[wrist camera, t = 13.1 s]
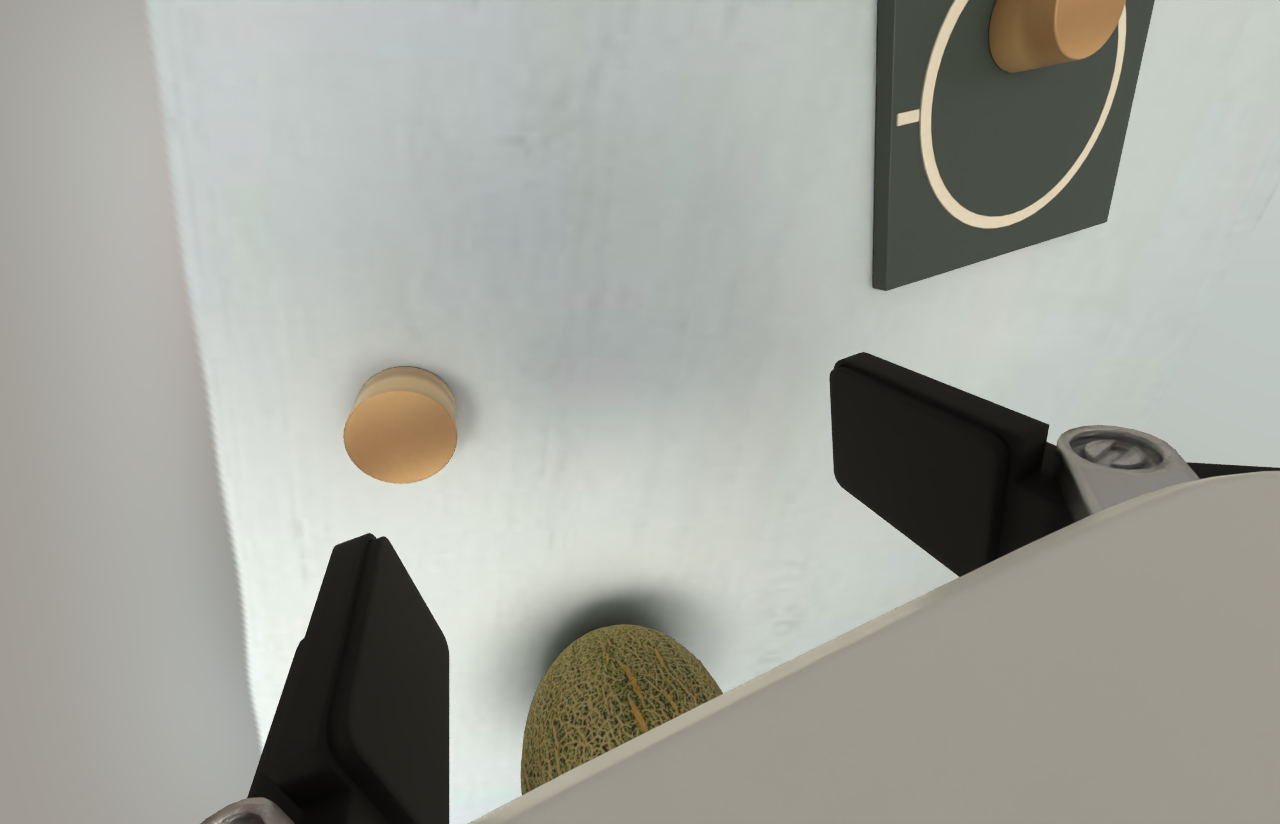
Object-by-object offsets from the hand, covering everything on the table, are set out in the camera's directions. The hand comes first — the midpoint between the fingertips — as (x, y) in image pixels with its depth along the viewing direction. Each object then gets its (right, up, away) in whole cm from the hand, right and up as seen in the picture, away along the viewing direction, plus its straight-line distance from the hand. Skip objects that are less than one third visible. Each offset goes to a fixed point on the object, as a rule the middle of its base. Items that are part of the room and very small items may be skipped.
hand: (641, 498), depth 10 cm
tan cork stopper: (-10, +2, +12) cm, 16 cm away
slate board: (+19, +18, +16) cm, 30 cm away
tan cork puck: (+18, +20, +13) cm, 30 cm away
